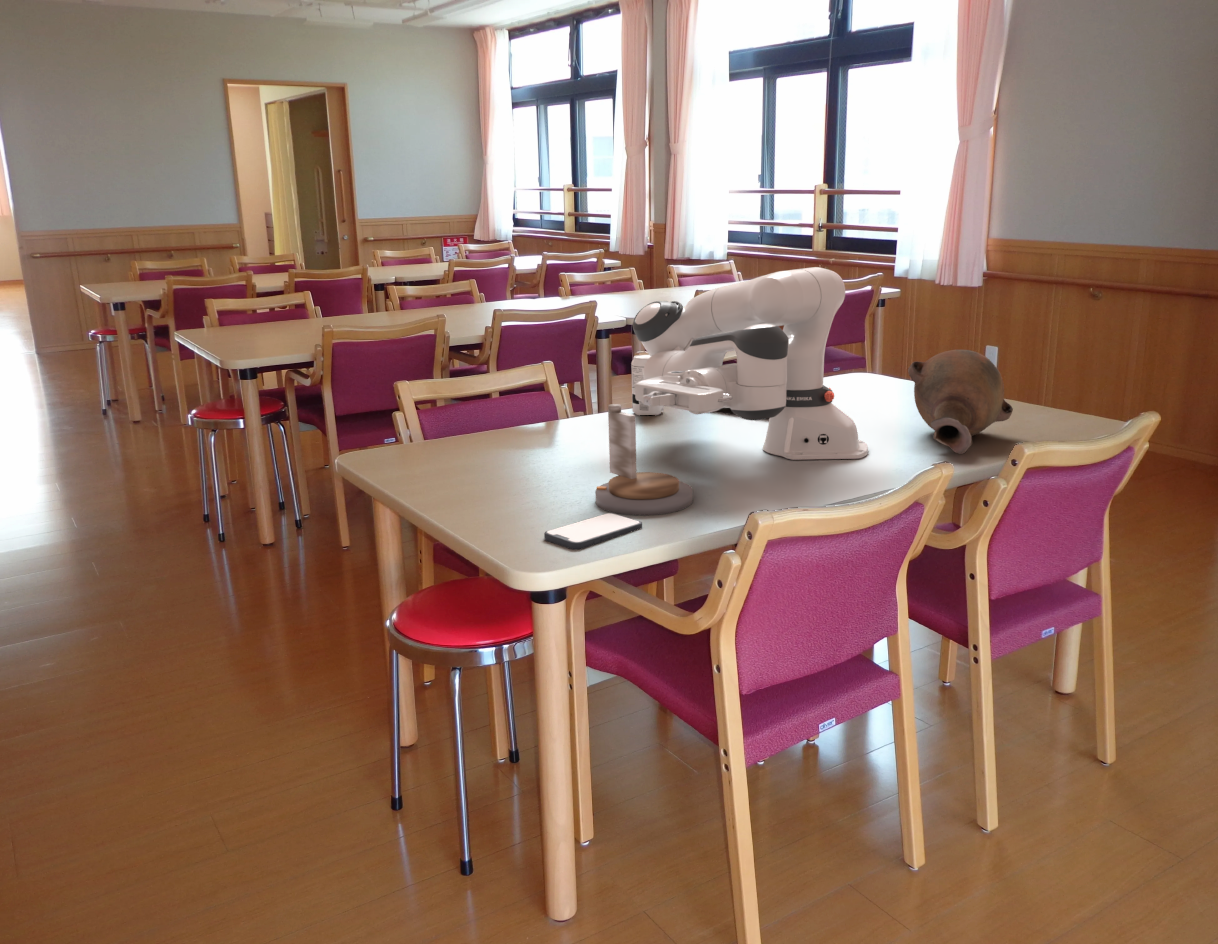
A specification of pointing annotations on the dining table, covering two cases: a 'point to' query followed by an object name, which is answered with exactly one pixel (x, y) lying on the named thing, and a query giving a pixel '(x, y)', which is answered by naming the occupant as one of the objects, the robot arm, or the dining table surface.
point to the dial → (632, 462)
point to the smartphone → (591, 531)
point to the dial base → (644, 502)
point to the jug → (959, 396)
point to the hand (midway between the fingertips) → (646, 401)
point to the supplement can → (638, 376)
